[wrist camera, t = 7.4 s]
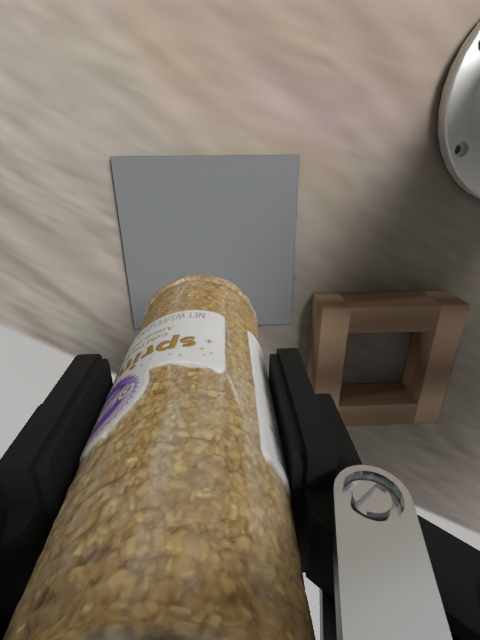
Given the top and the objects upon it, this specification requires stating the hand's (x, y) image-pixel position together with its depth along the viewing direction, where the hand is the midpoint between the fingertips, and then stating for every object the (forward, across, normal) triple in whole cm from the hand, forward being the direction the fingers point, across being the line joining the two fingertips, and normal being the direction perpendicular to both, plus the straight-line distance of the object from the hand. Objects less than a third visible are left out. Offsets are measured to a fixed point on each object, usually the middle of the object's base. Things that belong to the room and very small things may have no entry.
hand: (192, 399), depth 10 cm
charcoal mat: (+18, 0, 0) cm, 18 cm away
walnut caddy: (+18, -13, +9) cm, 24 cm away
